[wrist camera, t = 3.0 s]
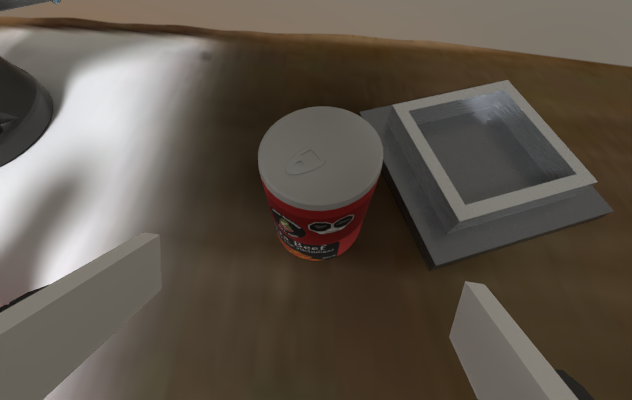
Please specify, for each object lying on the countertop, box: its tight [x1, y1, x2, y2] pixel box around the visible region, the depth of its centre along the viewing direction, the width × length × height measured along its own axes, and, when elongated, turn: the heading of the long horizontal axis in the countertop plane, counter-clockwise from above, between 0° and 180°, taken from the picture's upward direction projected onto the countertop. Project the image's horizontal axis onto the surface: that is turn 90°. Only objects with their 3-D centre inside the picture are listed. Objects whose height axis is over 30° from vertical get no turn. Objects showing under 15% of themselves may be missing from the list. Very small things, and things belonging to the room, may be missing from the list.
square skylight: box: [359, 80, 613, 270], centre depth 29 cm, size 18×18×4 cm
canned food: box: [258, 106, 383, 261], centre depth 23 cm, size 8×8×11 cm
